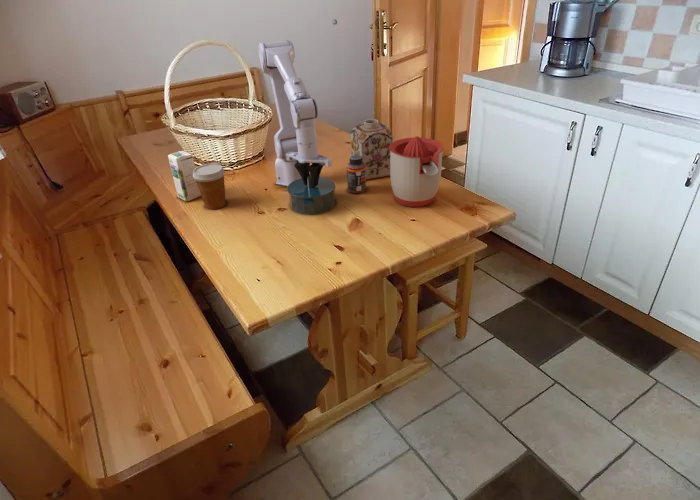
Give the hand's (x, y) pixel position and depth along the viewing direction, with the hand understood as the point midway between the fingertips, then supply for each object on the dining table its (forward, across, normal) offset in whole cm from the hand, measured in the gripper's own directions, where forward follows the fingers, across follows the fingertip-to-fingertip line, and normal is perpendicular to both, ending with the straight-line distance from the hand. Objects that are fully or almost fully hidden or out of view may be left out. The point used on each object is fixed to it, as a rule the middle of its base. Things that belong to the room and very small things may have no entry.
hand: (311, 184), depth 143 cm
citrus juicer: (+7, +28, +15) cm, 32 cm away
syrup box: (+7, -40, -12) cm, 42 cm away
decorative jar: (+7, +6, +29) cm, 30 cm away
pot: (+6, 0, 0) cm, 6 cm away
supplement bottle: (+7, +8, +14) cm, 17 cm away
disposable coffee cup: (+7, -28, -13) cm, 32 cm away
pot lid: (+1, 0, 0) cm, 1 cm away
